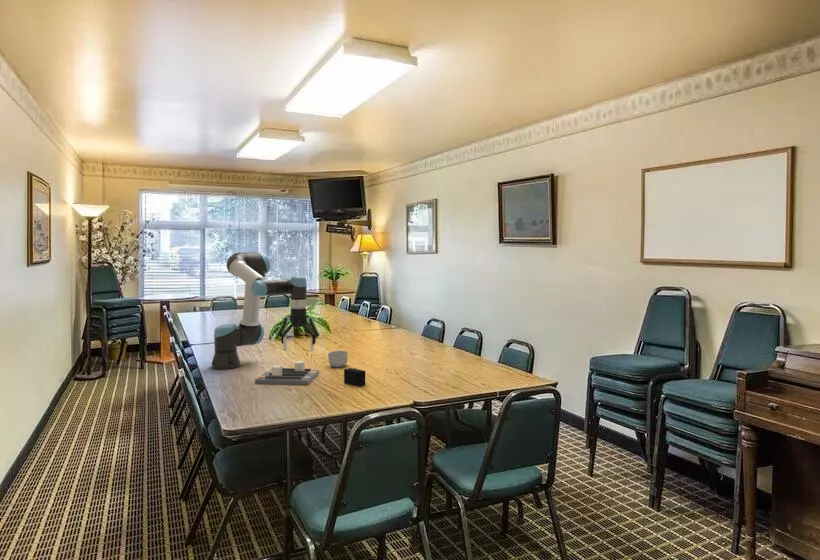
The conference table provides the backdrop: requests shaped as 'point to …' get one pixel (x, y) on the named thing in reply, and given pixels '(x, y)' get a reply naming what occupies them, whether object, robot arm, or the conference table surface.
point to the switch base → (288, 377)
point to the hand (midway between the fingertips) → (298, 350)
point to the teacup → (337, 358)
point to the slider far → (300, 366)
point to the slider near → (277, 371)
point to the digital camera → (354, 377)
